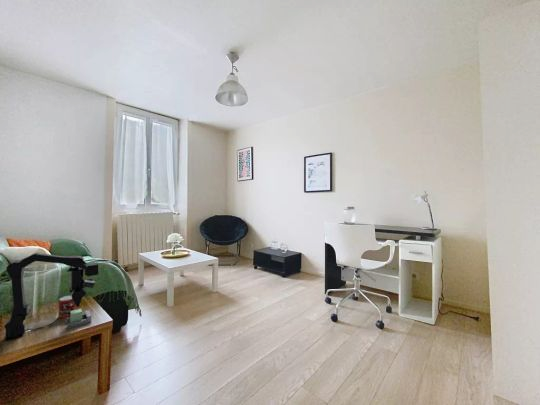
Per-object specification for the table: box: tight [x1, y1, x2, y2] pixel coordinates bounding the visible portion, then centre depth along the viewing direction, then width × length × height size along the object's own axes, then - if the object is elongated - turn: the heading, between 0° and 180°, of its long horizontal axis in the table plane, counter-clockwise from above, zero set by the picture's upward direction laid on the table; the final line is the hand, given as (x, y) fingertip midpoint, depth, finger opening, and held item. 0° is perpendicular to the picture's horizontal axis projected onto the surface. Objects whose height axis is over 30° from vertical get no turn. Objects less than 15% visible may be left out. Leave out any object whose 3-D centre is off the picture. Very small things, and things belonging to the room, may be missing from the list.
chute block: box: [69, 308, 83, 323], centre depth 140 cm, size 5×5×7 cm
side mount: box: [65, 309, 92, 330], centre depth 140 cm, size 11×10×4 cm
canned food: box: [58, 295, 76, 319], centre depth 149 cm, size 8×8×11 cm
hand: (76, 304), depth 140 cm, fingers open, 9 cm apart
